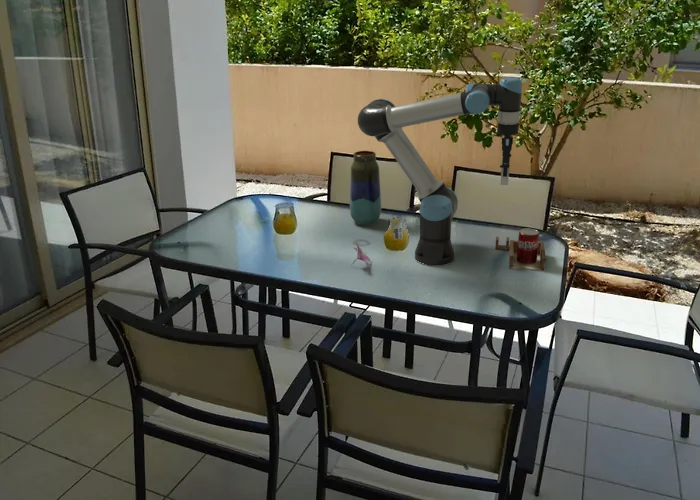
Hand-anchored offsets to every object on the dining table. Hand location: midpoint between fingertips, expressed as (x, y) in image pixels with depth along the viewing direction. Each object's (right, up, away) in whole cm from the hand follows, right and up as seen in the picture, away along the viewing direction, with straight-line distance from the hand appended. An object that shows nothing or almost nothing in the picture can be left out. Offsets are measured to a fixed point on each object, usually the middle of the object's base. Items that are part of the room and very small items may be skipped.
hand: (504, 179), depth 235 cm
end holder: (+8, -31, +1) cm, 32 cm away
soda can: (+8, -31, -1) cm, 32 cm away
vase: (-51, -14, +44) cm, 68 cm away
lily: (-53, -33, 0) cm, 63 cm away
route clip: (+2, -26, +13) cm, 29 cm away
